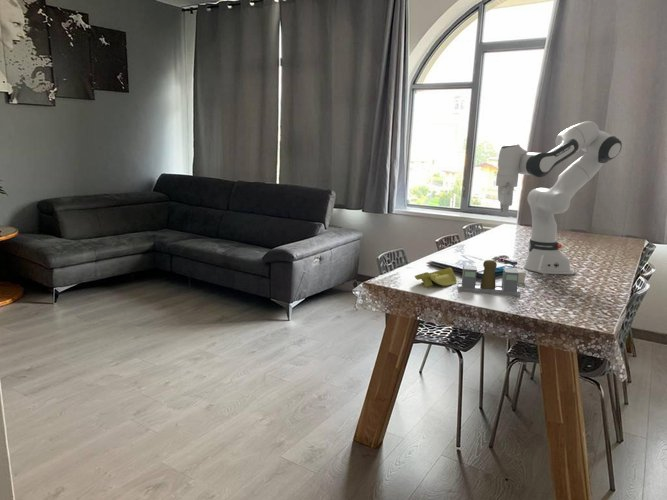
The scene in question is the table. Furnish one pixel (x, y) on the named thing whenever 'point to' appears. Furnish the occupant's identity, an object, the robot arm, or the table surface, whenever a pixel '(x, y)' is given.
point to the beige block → (521, 276)
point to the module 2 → (510, 280)
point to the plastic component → (438, 277)
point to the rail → (488, 290)
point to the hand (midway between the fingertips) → (503, 213)
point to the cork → (488, 275)
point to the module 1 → (469, 276)
